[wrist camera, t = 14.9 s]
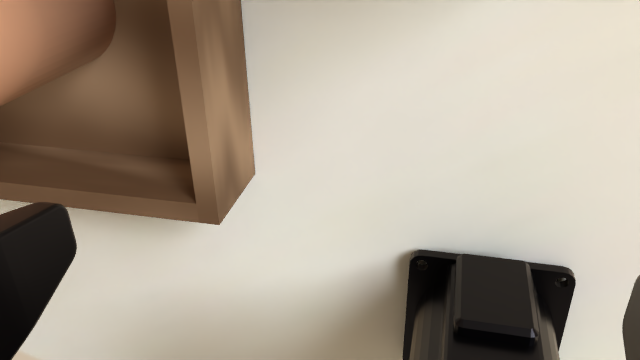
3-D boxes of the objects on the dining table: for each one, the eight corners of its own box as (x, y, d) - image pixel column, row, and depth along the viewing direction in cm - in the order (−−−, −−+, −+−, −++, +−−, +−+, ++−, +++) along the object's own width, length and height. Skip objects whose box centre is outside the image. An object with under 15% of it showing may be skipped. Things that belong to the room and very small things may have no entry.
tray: (255, 173, 24) (219, 224, 21) (-26, 146, 27) (-97, 187, 24) (221, -231, 17) (159, -254, 14) (-149, -210, 20) (-274, -224, 17)
